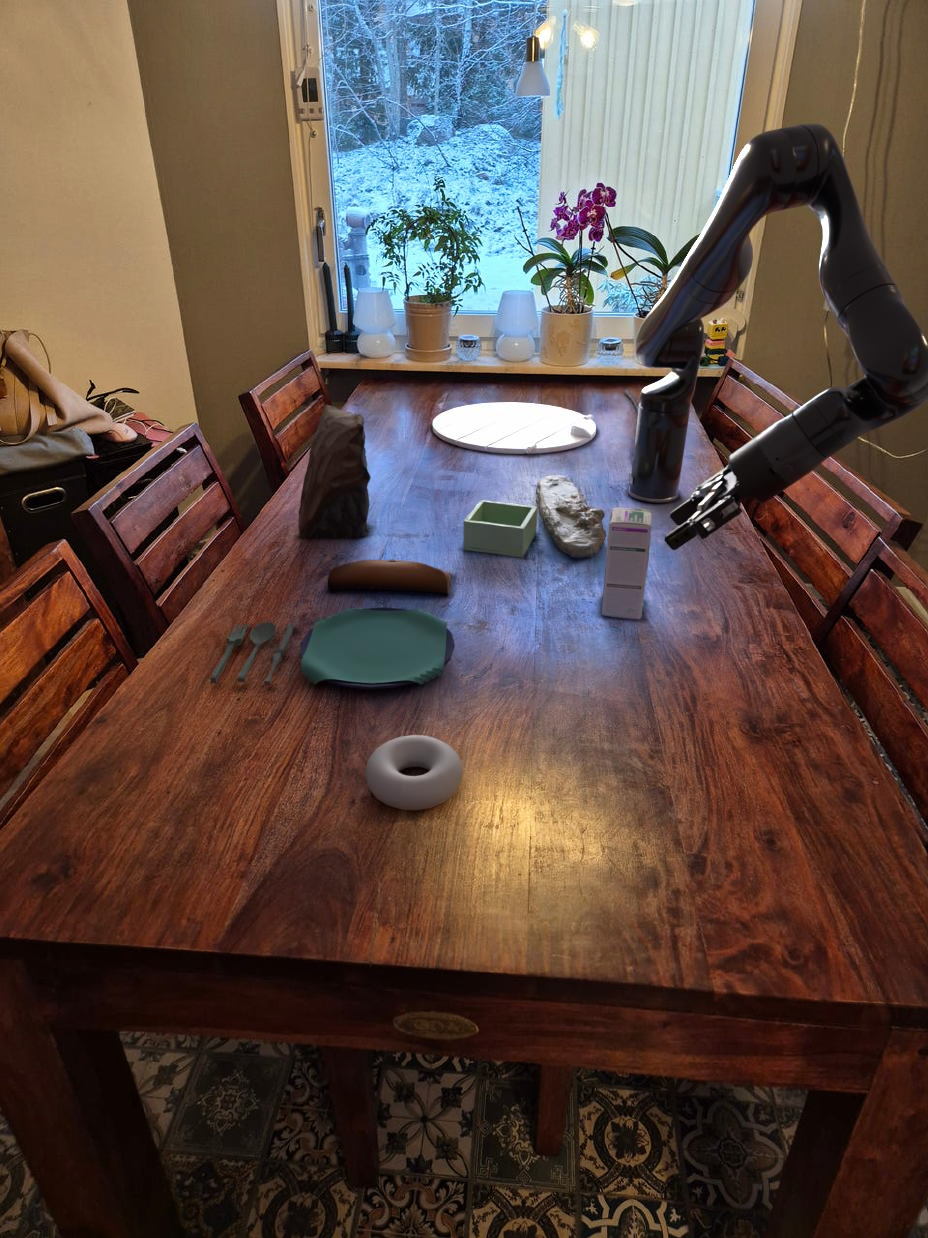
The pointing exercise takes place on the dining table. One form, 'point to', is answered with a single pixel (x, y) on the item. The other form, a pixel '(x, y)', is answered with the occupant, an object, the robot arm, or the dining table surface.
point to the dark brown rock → (336, 479)
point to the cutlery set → (359, 648)
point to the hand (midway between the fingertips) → (670, 531)
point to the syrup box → (626, 562)
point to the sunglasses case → (389, 576)
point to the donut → (413, 788)
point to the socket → (500, 528)
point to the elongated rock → (570, 517)
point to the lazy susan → (514, 428)
